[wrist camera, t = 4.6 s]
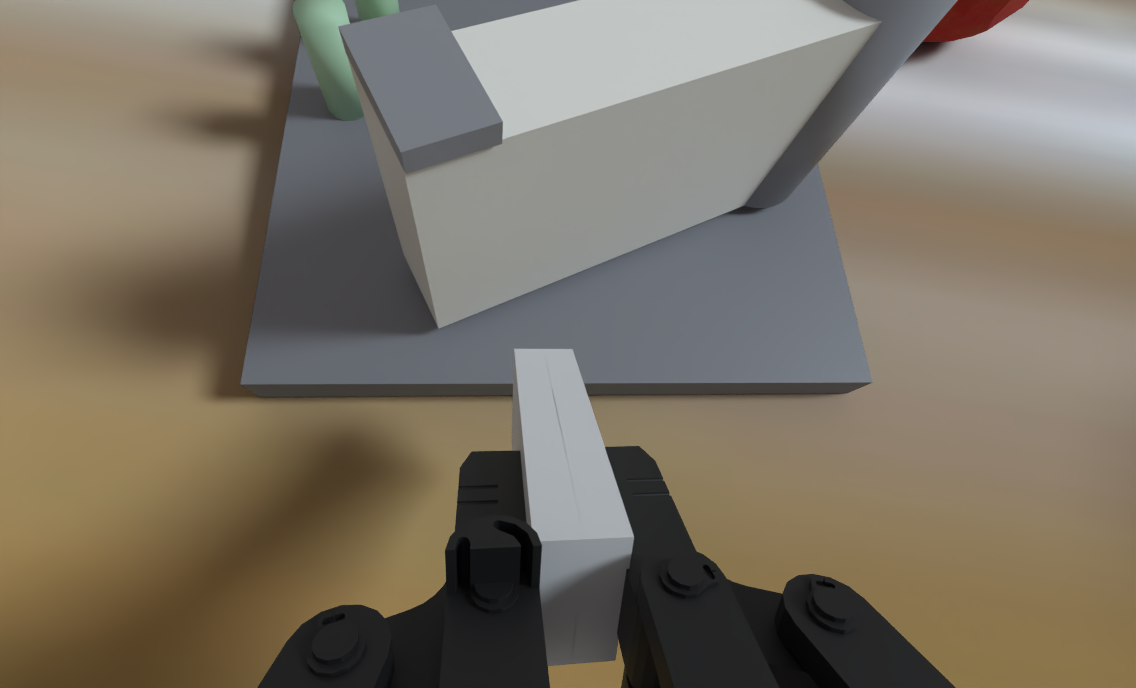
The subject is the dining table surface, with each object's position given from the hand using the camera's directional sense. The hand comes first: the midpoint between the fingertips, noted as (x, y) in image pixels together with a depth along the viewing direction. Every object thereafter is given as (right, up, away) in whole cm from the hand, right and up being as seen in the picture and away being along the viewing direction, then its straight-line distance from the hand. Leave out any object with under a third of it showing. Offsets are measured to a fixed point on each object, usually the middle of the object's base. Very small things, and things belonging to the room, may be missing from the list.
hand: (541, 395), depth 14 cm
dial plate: (+1, +9, +9) cm, 13 cm away
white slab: (+3, +6, +6) cm, 9 cm away
